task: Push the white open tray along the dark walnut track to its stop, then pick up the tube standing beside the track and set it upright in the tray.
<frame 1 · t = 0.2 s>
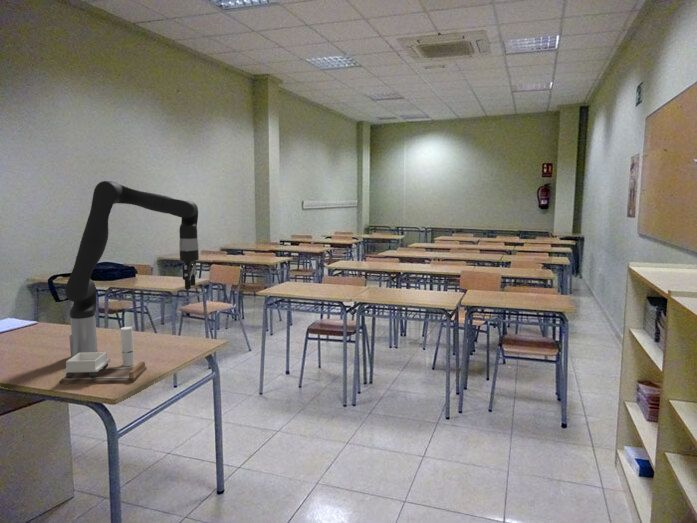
hand: (190, 287, 209), 29 cm above the table, tool pointing down, fingers open, 8 cm apart
white open tray: (87, 364, 185), point 5 cm above the table, slide at 0.0 cm
tube: (128, 364, 199), on the table
track: (104, 376, 186), on the table
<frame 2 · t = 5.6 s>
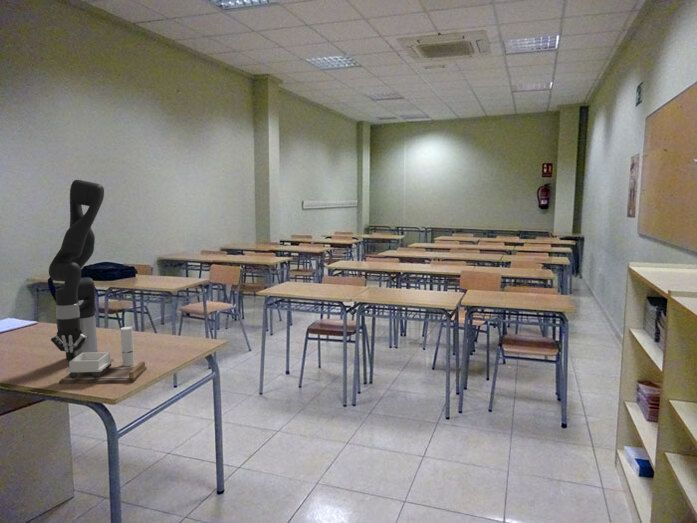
hand: (71, 361, 185), 6 cm above the table, tool pointing down, fingers closed
white open tray: (90, 364, 185), point 5 cm above the table, slide at 1.2 cm, touching gripper
everything else where it was.
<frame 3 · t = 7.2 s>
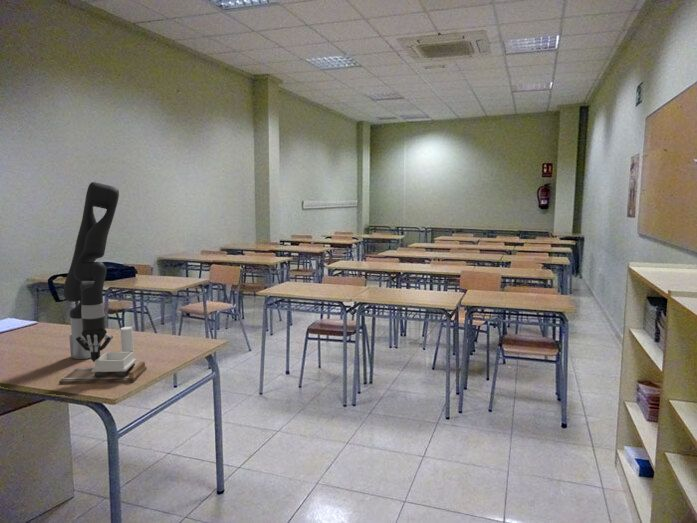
hand: (96, 361, 185), 6 cm above the table, tool pointing down, fingers closed
white open tray: (115, 364, 186), point 5 cm above the table, slide at 10.0 cm, touching gripper
everything else where it was.
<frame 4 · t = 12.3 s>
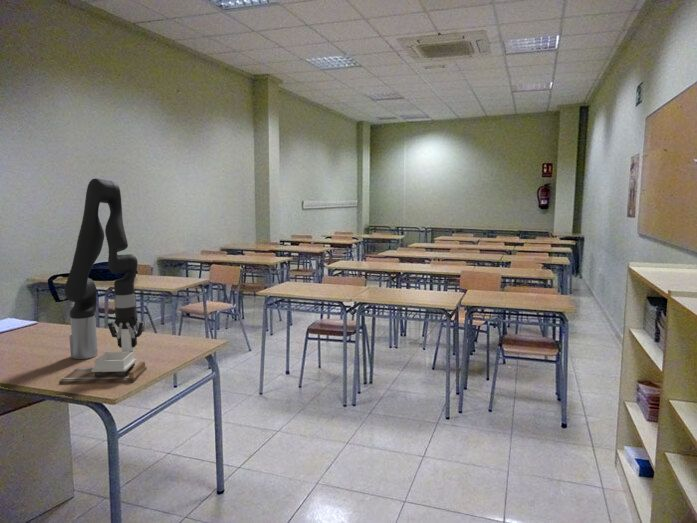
hand: (127, 346, 198), 7 cm above the table, tool pointing down, fingers closed on tube, 4 cm apart
white open tray: (115, 364, 186), point 5 cm above the table, slide at 10.0 cm
tube: (128, 364, 199), on the table, touching gripper
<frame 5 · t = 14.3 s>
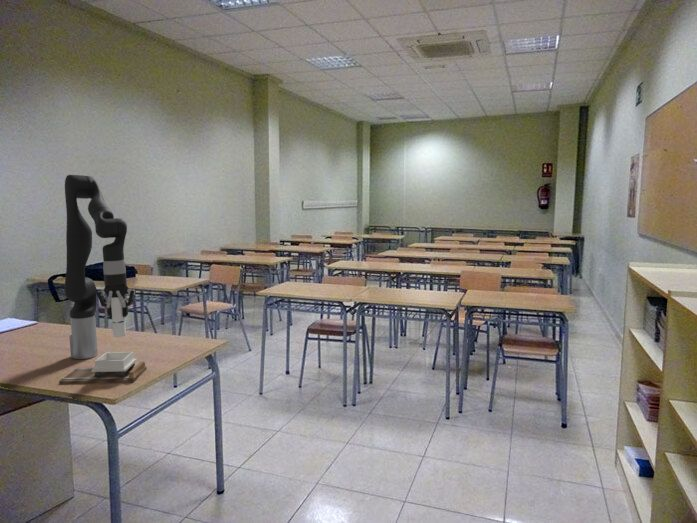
hand: (118, 316, 188), 22 cm above the table, tool pointing down, fingers closed on tube, 4 cm apart
tube: (119, 336, 189), point 14 cm above the table, touching gripper
everything else where it was.
when the fingers open (13 cm above the table, at t = 16.4 s): tube drops 1 cm, resting on white open tray.
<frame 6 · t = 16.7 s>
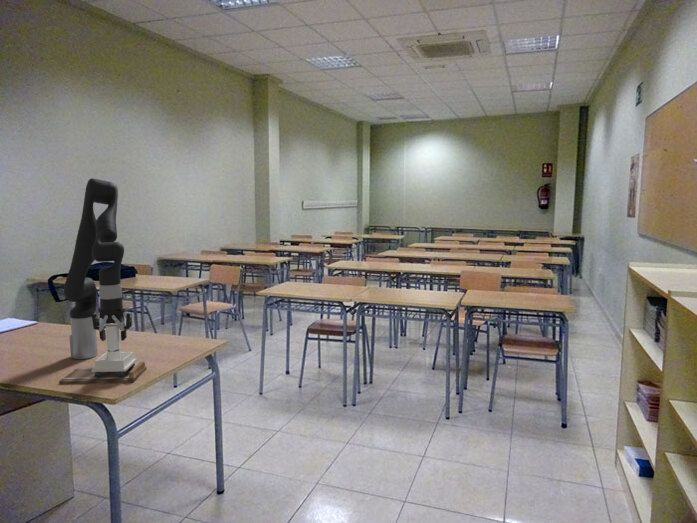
hand: (113, 340, 185), 14 cm above the table, tool pointing down, fingers open, 6 cm apart
white open tray: (115, 364, 186), point 5 cm above the table, slide at 10.0 cm, touching tube
tube: (114, 364, 186), point 5 cm above the table, touching white open tray
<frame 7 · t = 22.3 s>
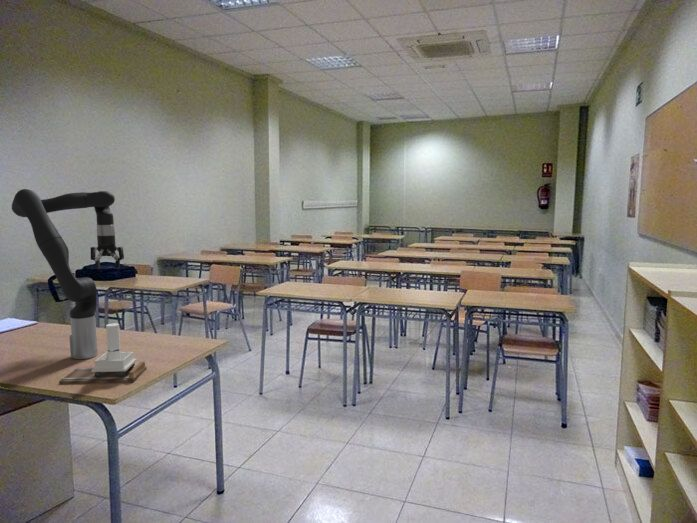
hand: (108, 268, 233), 33 cm above the table, tool pointing down, fingers open, 8 cm apart
nothing on the table moved.
at the end: white open tray slide at 10.0 cm; tube inside the target area (0.2 cm from its centre), point 4.5 cm above the table; tube tilted 0° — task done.
